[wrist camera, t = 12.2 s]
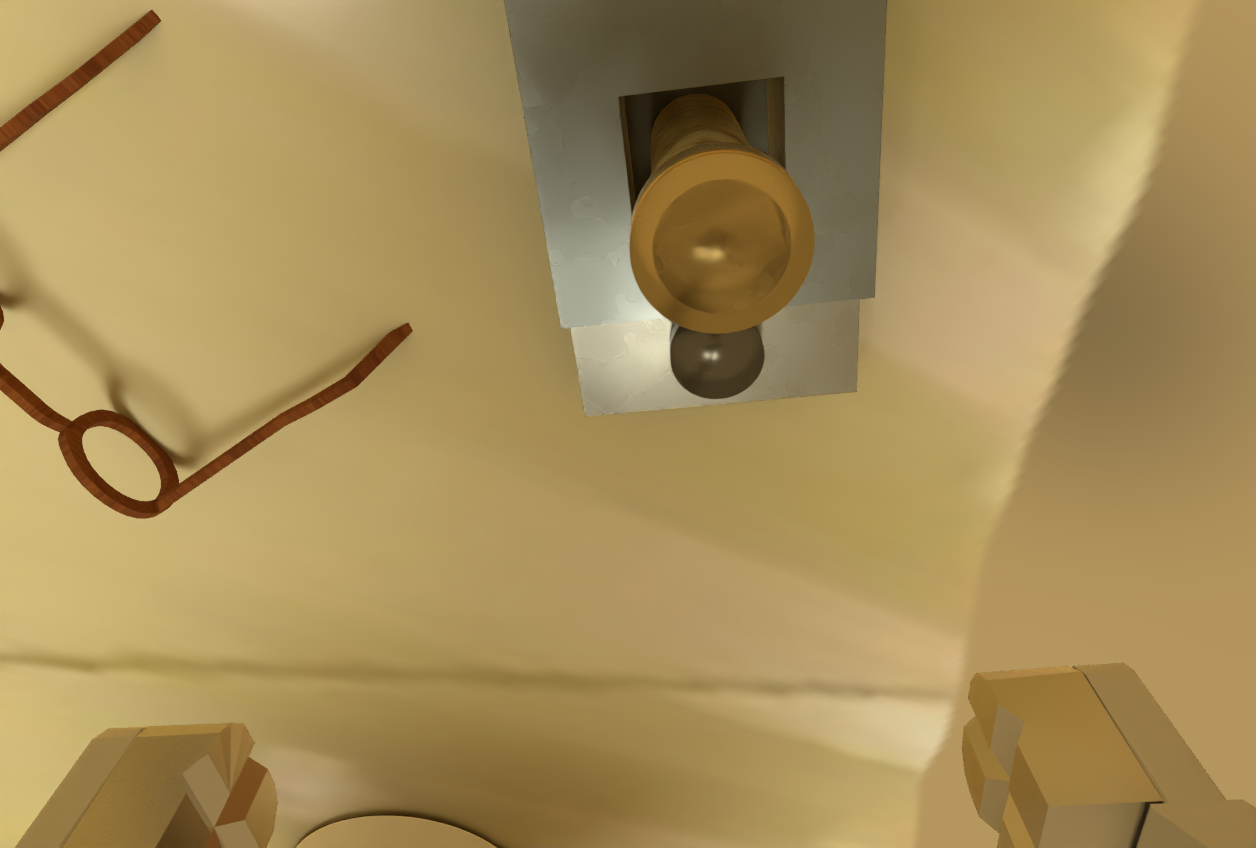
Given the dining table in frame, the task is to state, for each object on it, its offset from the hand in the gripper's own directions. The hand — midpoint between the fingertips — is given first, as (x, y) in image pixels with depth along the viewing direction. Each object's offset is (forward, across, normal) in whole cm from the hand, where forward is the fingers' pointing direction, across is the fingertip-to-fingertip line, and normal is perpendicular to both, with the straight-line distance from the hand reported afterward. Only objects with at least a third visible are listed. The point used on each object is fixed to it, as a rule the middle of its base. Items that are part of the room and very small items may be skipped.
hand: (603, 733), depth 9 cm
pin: (+22, +2, +2) cm, 22 cm away
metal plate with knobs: (+22, +3, +2) cm, 22 cm away
